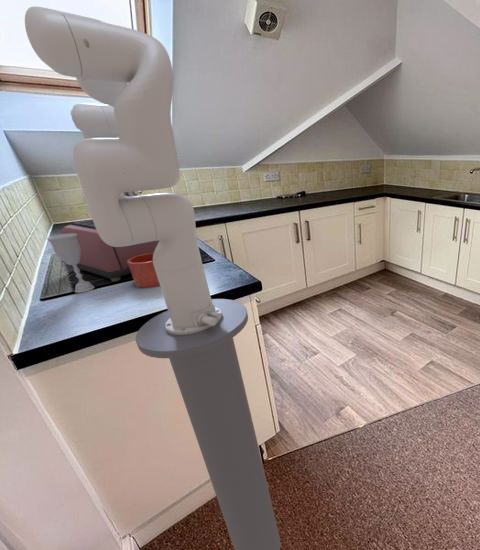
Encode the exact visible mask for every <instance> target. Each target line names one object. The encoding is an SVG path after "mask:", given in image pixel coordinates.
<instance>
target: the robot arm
mask: <svg viewBox="0 0 480 550" xmlns="http://www.w3.org/2000/svg"><path fill="white" fill-rule="evenodd" d="M24 14H25V15H24V27H25V33H26V36H27V39H28V42H29V43H30V46H31V48H32V50H33V51H34V53H35V54H36V56H37V57H38V58H39V59H40V60H41V62H43V63H44V64H45V65H46V66H47V67H49V68H50V69H51V70H53V71H54V72H56V73H57V74H58V75H61V76H66V77H71V78H76V82H77V84H78V86H79V87H80V88H81V90H82V91H83V92H84V93H85V94H87V96H89V97H90V98H92V99H93V100H95V101H97V102H99V104H98V103H84V102H83V103H81V102H80V103H76V104H74V105H73V106H72V109H71V110H70V116H71V120H72V122H73V124H74V126H75V128H76V129H78V130H79V131H80V132H81V133H82V136H83V139H81V140H79V141H77V142H76V143H75V144H74V146H73V148H72V149H73V151H72V158H73V163H74V168H75V171H76V174H77V177H78V181H79V183H80V186H81V189H82V192H83V196H84V198H85V201H86V204H87V207H88V210H89V214H90V215H91V220H93V222H94V225H95V227H96V230H97V232H98V234H99V236H100V237H101V239H102V240H103V241H104V242H105V243H106V244H107V245H110V246H113V247H123V246H130V245H135V244H140V243H146V242H151V241H158V240H160V241H159V243H158V245H157V247H156V249H155V251H154V254H153V265H154V268H155V271H156V274H157V278H158V281H159V284H160V285H159V286H160V289H161V292H162V296H163V299H164V303H165V305H166V309H167V311H168V312H169V315H170V319H168V321H167V322H166V324H165V328H166V331H167V332H168V333H170V334H174V335H187V334H193V333H197V332H200V331H203V330H206V329H208V328H210V327H212V326H214V325H216V324H217V322H219V320H220V319H221V318H222V312H221V310H220V309H219V308H217V307H215V306H214V305H213V304H212V300H211V299H212V297H211V293H210V288H209V284H208V281H207V276H206V271H205V269H204V268H205V267H204V265H203V261H202V256H201V252H200V248H199V243H198V235H197V227H196V214H195V209H194V206H193V204H192V202H191V201H190V199H188V198H187V197H186V196H184V195H182V194H178V193H176V192H175V193H173V192H159V193H149V194H141V195H140V193H139V192H144V191H154V190H155V191H156V190H163V189H169V188H173V187H174V186H176V185H177V184H178V183H179V180H180V165H179V159H178V154H177V146H176V140H175V134H174V129H173V124H172V115H171V113H172V102H173V94H174V84H175V83H174V80H175V79H174V71H173V66H172V60H171V58H170V55H169V53H168V51H167V49H166V47H165V46H164V45H163V43H161V41H160V40H158V39H157V38H155V37H154V36H152V35H150V34H148V33H146V32H142V31H139V30H136V29H133V28H128V27H126V26H122V25H117V24H112V23H109V22H105V21H104V20H103V21H102V20H100V19H96V18H92V17H89V16H84V15H80V14H75V13H70V12H65V11H62V10H56V9H52V8H48V7H42V6H30V7H28V8H27V9H26V11H25V13H24Z"/></svg>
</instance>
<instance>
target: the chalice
mask: <svg viewBox="0 0 480 550" xmlns="http://www.w3.org/2000/svg"><path fill="white" fill-rule="evenodd" d="M46 240H47V241H49V242H50V244H51V247H52V249H53V251H54V253H55V255H56V256H57V257H58V258H59V259H60V260H62V261H63V262H64V263H65V264H67V265H68V266H71V267H73V272H74V273H75V278H77V279H78V282H77V283H76V284H75V287H74V293H77V294H80V293H86V292H89V291H92V290H93V289H95V288H96V287H95V286H94V285H93V284H92V283H91V282H90V281H88V280H86V281H85V280H84V279H83V274H81V270H80V269H78V267H77V264H78V263H79V262H80V258H81V248H80V245H79V243H78V241H77V234H75V233H71V234H61V233H60V234H56V235H52V236H51V235H50V236H48V237H46Z"/></svg>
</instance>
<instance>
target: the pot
mask: <svg viewBox="0 0 480 550" xmlns="http://www.w3.org/2000/svg"><path fill="white" fill-rule="evenodd" d="M153 254H154V253H147V254H142V255H138V256H135V257H133V258H130V259H129V260H127V263H128V265H129V268H130V271H131V274H130V275H131V277H132V279H133V282H134V285H135V286H136V287H137V288H153V287H158V286H160V284H159V281H158V278H157V274H156V271H155V268H154V265H153Z"/></svg>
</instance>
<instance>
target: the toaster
mask: <svg viewBox="0 0 480 550" xmlns="http://www.w3.org/2000/svg"><path fill="white" fill-rule="evenodd" d="M71 233H75V234H77V241H78V243H79V245H80V248H81V258H80V262H79V263H78V264H77V267H78V269H80V271H85V272H87V273H91V274H94V275H97V276H100V277H104V278H107V279H110V281H111V282H112V283H113V282H120V281H121V280H122V277H124V276H127V275H132V274H131V271H130V268H129V265H128V263H127V260H129V259H130V258H133V257H135V256H138V255H142V254H147V253H154V251H155V249H156V247H157V245H158V243H159V241H160V240H158V241H151V242H146V243H140V244H135V245H130V246H123V247H113V246H110V245H107V244H106V243H105V242H104V241H103V240H102V239H101V237H100V236H99V234H98V232H97V230H96V227H95V225H94V222H93V219H88V220H87V219H86V220H82V221H76V222H72V224H68V225H66V226H63V227H62V229H61V232H60V235H61V234H71Z"/></svg>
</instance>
